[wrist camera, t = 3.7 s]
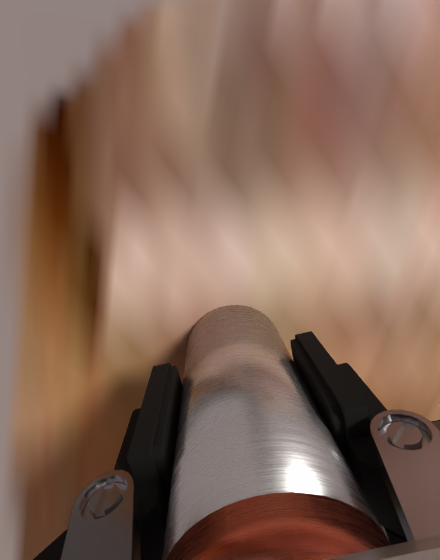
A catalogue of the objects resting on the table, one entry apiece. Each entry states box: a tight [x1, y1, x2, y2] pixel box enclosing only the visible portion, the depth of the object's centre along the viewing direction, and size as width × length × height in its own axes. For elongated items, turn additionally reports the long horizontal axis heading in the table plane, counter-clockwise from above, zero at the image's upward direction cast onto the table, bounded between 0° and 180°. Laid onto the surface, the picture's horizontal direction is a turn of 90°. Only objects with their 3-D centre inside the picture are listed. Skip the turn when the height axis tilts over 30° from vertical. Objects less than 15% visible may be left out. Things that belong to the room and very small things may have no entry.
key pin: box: [162, 305, 391, 560], centre depth 9 cm, size 4×4×10 cm
